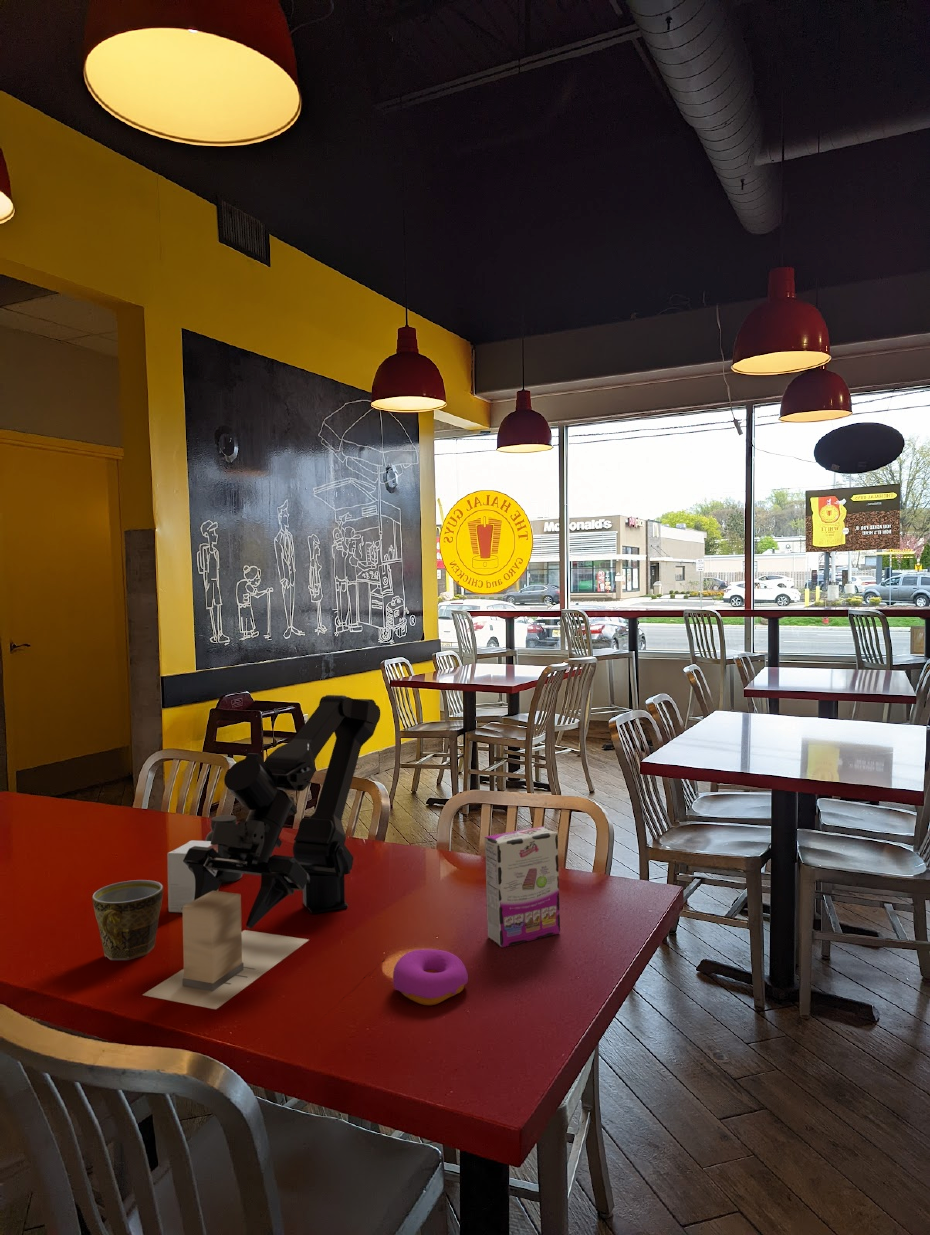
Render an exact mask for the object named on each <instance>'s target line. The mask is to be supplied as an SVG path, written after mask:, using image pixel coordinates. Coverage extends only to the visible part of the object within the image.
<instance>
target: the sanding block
mask: <svg viewBox="0 0 930 1235" xmlns="http://www.w3.org/2000/svg"><path fill="white" fill-rule="evenodd" d="M241 899H242V895H241V893H234V892H229V891H227V892H226V891H220V890H218V891H211V892H209V893H207V894H205V895H203V896H202V897H200V898H198V899H196V900H194V901H192V902H190V903H188V904H186V905H184V906H183V913H182V946H183V947H182V948H183V969H184V978H183V979H182V985H183V986H185V987H191V988H196V989H201V990H207V991H212V992H213V991H214V990H215V989H217V988H218V987H220V986H221V985H222V984H224V983H225V982H227V981H228V980H230V979H231V978H232V977H234V976H235V975H237V974H238V973H239V972H241V971H242V970H244V966H243V963H242V935H241V932H242V900H241Z"/></svg>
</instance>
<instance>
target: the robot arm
mask: <svg viewBox="0 0 930 1235" xmlns="http://www.w3.org/2000/svg"><path fill="white" fill-rule="evenodd" d="M380 719H381V709H380V706H379V705H378V704H377V703H376V701H375V700H374V699H370V698H352V697H350V696H346V695H345V694H344V695H342V694H341V695H339V694H338V695H336V694H335V695H334V694H326V695H325V696H322V697H321V698H320V700H319V703H318V706H317V707H316V709H315V710H314V711H313V713H312V714H311V715H310V717H309V718H308V719H307V721H306V722H305V723H304V724H303V726H302V727H301V728H300V730H299V731H298V732H297V734H296V735H295V736H294V737H293V739H291V740H290V741H289V742H287V743H285V744H282V745H281V746H278V747H277V748H276V749H274V750H273V751H272V752H271V753H270V754H269V755H268V756H267V757H266V758H265V760H264V759H263V757H262V756H261V754H260V753H252V752H250V753H249V752H248V753H247V754H246V756H245V757H244V759H241V760H239V761H237V762H236V763H234V764H233V765H232V766H231V767H230V768H228V769H227V771H226V772H225V775H224V781H223V782H224V786H225V787H226V789H228V790H229V792H230V793H231V794H232V795H233V796H234V797H235V798H236V800H237V801H238V802H239V803H240V804H241V806H242V807H244V809H247V810H249V813H248V814H247V817H246V818H245V820H239V822H238V821H237V824H229V823H219V822H216V823H215V827H214V831H213V835H212V839H211V845H221V846H224V847H223V851H224V852H225V853H226V854H229V855H230V857H229V858H223V857H221V856H220V855H219V854H218V853H217V852H216V851H215V850H214V849H213V848H208V847H199V846H194V847H192V848H189V850H188V851H187V853H186V855H185V857H184V859H183V862H184V863H185V864H186V865H187V866H188V868H189V870H190V871H191V872H193V873H194V877H195V896H194V900H196V899H198V898H200V897H202V896H203V895H205V894H207V893H209V892H211V891H217V890H218V891H219V889H220V887H221V885H222V884H221V882H220V881H219V880H218V879H220V878H221V877H223V876H224V874H225V872H235V873H242V875H244V874H245V875H251V876H260V877H261V878H260V888H259V891H258V892H257V895H256V897H255V900H254V902H253V904H252V907H251V909H250V912H249V913H248V917H247V920H246V924H245V926H246V927H247V928H248V929H252V928H254V926H255V925H257V923H259V922H260V921H261V920H262V919H263V918H264V916H266V915H267V914H268V913H269V912H270V911H271V910H272V909H273V908H274V907H275V906H277V905H278V904H279V903H280V902H282V901H283V900H284V899H285V898H287V897H288V896H293V895H294V894H295V891H299V892H302V903H303V905H304V906H305V907H306V908H307V910H309V912H310V913H311V914H313V915H314V914H320V913H324V912H325V913H326V912H330V911H336V910H342V909H347V908H349V904H348V903H347V901H346V897H345V896H346V895H345V894H346V893H345V892H346V890H345V884H346V883H345V880H346V879H345V876H346V875H350V873H351V870H352V869H353V865H354V855H353V854H352V852H350V850H349V849H348V848H347V846H346V845H345V843H346V838H347V836H346V832H345V829H344V826H343V822H342V819H343V815H344V812H345V809H346V808H345V807H346V804H347V801H348V797H349V793H350V789H351V786H352V783H353V778H354V776H355V775H354V774H355V772H356V768H357V767H356V766H357V764H358V761H359V760H358V759H359V757H360V753H361V749H362V747H363V745H364V744H366V743H367V742H368V741H369V739H371V737H373V735H374V733H375V731H376V728H377V726H378V723H379V722H380ZM333 734H334V735H335V740H334V741H335V742H334V745H333V748H332V751H331V755H330V758H329V761H328V762H329V763H328V766H327V768H326V773H325V776H324V779H323V783H322V785H321V786H322V787H321V789H320V794H319V795H318V796H319V797H318V800H317V804H316V807H315V810H314V813H313V814H312V815H310V816H309V818H308V817H302V818H301V820H300V821H299V824H298V830H297V833H296V835H295V837H294V839H293V840H294V842H293V845H292V853H293V856H290V855H289V856H288V855H279V854H273V853H274V849H275V848H281V846H282V843H283V841H282V839H281V838H280V836H281V833H282V830H283V828H284V826H285V824H286V820H287V819H288V816H289V815H296V814H297V813H298V807H297V806H296V804H295V798H294V797H293V796H289V795H288V794H287V792H286V791H294V792H303V791H304V790H306V788H308V787H309V784H310V782H311V781H312V779H313V777H314V776H315V773H316V771H317V769H316V762H315V761H316V760H317V757H318V756H319V754H320V753H321V751H322V750H323V748H324V747H325V745H326V744H327V742H328V741H329V740H330V738H331V737H332V736H333ZM272 854H273V855H272Z"/></svg>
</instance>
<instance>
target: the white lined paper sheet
mask: <svg viewBox="0 0 930 1235" xmlns="http://www.w3.org/2000/svg"><path fill="white" fill-rule="evenodd" d="M241 935H242V963H243V966H244V970H242V971H241V972H239V973H238V974H237V975H235V976H234V977H232V978H231V979H230V980H228V981H227V982H225V983H224V984H222V985H221V986H220V987H218V988H217V989H215V990H214V991H213V992H212V991H207V990H201V989H196V988H191V987H185V986H183V985H182V979H183V978H184V968H183V969H181V970H179V971H178V972H176V973H174V974H173V975H171V976H170V977H168V978H167V979H165V980H163V981H162V982H160V983H159V984H157V985H156V986H154V987H152V988H151V989H149V990H148V991H146V992H144V993H143V994H142V996H144V997H145V996H146V997H150V998H153V999H154V998H155V999H160V1000H166V1001H170V1002H175V1003H182V1004H187V1005H191V1006H196V1007H202V1008H207V1009H211V1010H217V1009H219V1008H220V1007H222V1006H223V1005H224V1004H225V1003H227V1002H228V1001H230V1000H231V999H233V997H234V996H237V994H239V993H240V992H241V991H243V990H244V989H246V988H247V987H248V986H250V985H251V984H252V983H254V982H255V981H256V980H258V979H259V978H260V977H262V976H263V975H264V974H266V973H267V972H268V971H269V970H271V969H273V968H274V967H275V966H277V964H279V963H281V962H282V961H284V959H286V958H287V957H288V956H290V955H291V954H292V953H294V952H296V951H297V950H298V949H299V948H301V947H302V946H303V945H304V944H306V943H307V942H309V941H310V939H309V938H308V939H307V938H301V937H293V936H288V935H287V936H286V935H281V934H274V933H269V932H268V933H267V932H259V931H254V930H248V929H247V930H246V929H244V930H241Z"/></svg>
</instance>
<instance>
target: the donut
mask: <svg viewBox="0 0 930 1235" xmlns="http://www.w3.org/2000/svg"><path fill="white" fill-rule="evenodd" d="M392 973H393V974H392V980H393V982H392V985H393V987H394V989H395V990H396V991H398V992H400V993H401V994H402V995H403V996H404V997H406V998H407V999H409V1000H410V1001H413V1002H415V1003H417V1004H420V1005H422V1006H423V1005H424V1006H434V1005H438V1004H440V1003H441V1002H444V1001H445V1000H448V999H449V998H452V997H454V996H456V995H457V994H460V993H461V992H462V991H463V990H464V988H465V985H466V984H467V983H468V980H469V977H468V970H467V968H466V966H465V964H464V962H463V961H462V959H460V958H459V957H458V956H457V955H456V954H453V953H452V952H451V951H450V952H449V951H446V950H443V949H442V950H440V949H434V948H431V949H430V948H423V949H422V948H421V949H414V950H411V951H408V952H406V953H405V954H404V955H402V956H401V957H400V958H399V959H398V961H397V962H396V963H395V966H394V968H393V972H392Z"/></svg>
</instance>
